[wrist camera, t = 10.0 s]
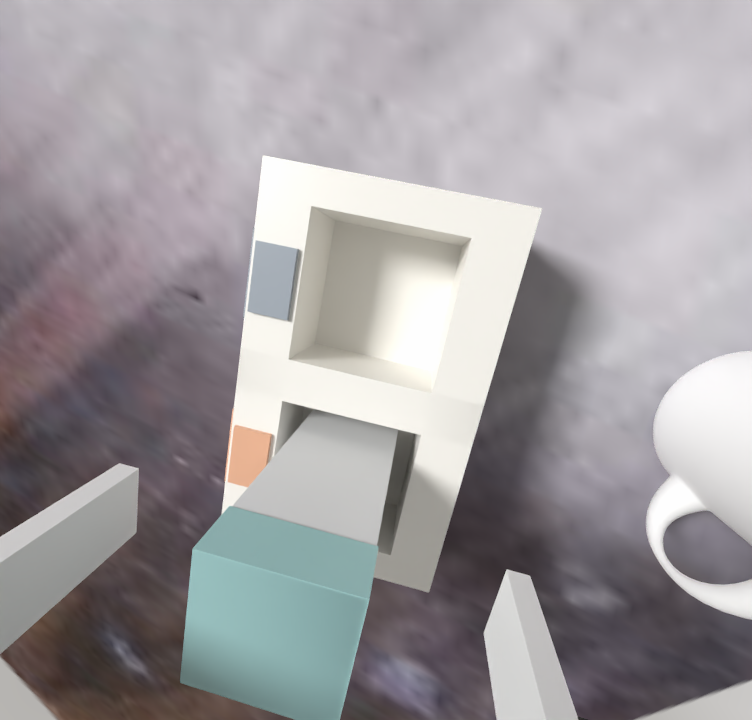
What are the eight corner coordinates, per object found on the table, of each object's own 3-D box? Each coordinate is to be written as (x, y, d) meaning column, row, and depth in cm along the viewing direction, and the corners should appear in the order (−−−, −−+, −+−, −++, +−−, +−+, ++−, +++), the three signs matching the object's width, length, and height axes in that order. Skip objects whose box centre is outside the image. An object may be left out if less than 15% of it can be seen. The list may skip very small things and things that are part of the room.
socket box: (304, 188, 20) (253, 152, 14) (507, 228, 20) (544, 207, 14) (263, 472, 25) (211, 534, 19) (428, 515, 24) (429, 596, 18)
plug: (322, 397, 21) (192, 548, 9) (401, 416, 21) (368, 599, 9) (309, 468, 22) (179, 682, 10) (384, 487, 22) (336, 732, 10)
